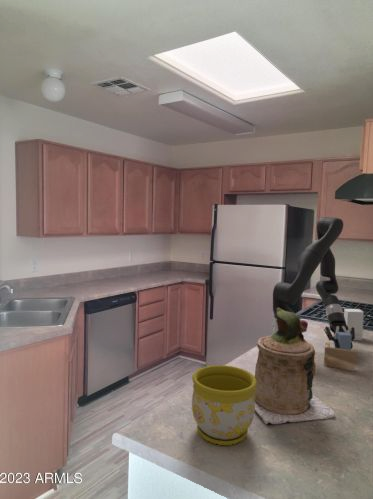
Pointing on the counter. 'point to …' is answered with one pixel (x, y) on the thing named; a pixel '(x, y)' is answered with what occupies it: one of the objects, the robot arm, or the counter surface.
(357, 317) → the skincare box
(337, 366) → the oak corner bracket
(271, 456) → the counter surface
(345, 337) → the slate block
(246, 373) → the flowerpot
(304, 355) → the cookie jar
